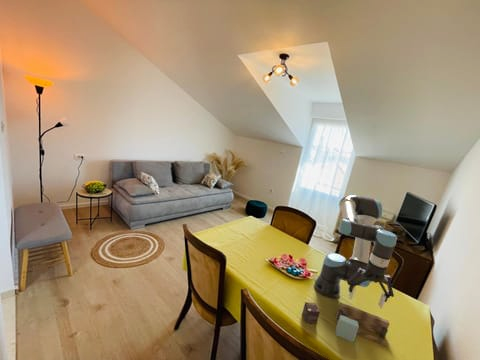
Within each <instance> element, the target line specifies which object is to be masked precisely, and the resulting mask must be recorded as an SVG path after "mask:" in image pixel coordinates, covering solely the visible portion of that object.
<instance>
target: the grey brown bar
mask: <svg viewBox="0 0 480 360" xmlns="http://www.w3.org/2000/svg"><path fill="white" fill-rule="evenodd" d="M340 315H342V316H345V317H347V318H350V319H353V320H355V321H358V326H359V327H360V328H363V329H365V330H368V331H369V332H370V331H371V332H373V333H376V334H378V335H380V336H379V337H380V338H381V339H380V338H379V337H375V336H374V335H371V334H369V333H367V332H364V331H361V330H359V329H358V331H357V334H356V335H359V336H361V337H363V338H366V339H369V340H371V341H373V342H376V343H378V344H380V345H382V346H385V347H388V346H389V342H388V341H385V340H384V339H386V336H387V333H388V331H389V330H388V329H389V326H390V324H391V323H390V320H388V319H386V318H383V317H380V316H378V315H375V314H372V313H369V312H367V311H366V310H365V311H364V310H362V309H359V308H356V307H355V306H351V305H348V304H346V303H343V302H341V301H340V302H339V305H338V308H337V311H336V315H335V317H336V321H337V322H336V324H337V323H338V320H339V317H340Z"/></svg>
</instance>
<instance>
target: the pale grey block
mask: <svg viewBox="0 0 480 360" xmlns="http://www.w3.org/2000/svg"><path fill="white" fill-rule="evenodd" d="M337 322H338V323H337ZM337 322H336V327H335V335H336V336H338V337H340V338H343V339H344V340H347V341H349V342H352V343H354V342H355V339H356V336H357V335H358V334H357V331H358V330H359V327H360V326H358V321H355V320H353V319H350V318H347V317H345V316H342V315H340V317H339V320H337Z"/></svg>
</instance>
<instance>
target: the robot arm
mask: <svg viewBox="0 0 480 360" xmlns="http://www.w3.org/2000/svg"><path fill="white" fill-rule="evenodd" d="M338 204H339V205H338V206H339V210H340V211H341V217H342V219H340V222H339V226H338V232H339V233H341V234H343V235H345V236H350V237H353V238H355V240H354V246H353V250H352V255H351V257H349V259H348V260H347V259H346V257H345V256H344V255H342V254H339V253H332V252H331V253H328V254H326V255H325V256H324V259H323V263H322V267H321V271H320V274H319V275H318V276H317V278H316V279H315V281H314V285H313V286H314V288H315V290H316V292H318V293H319V294H321V295H322V296H324V297H326V298H328V299H329V298H330V299H336V298H339V296H340V294H341V285H340V284H341V283H340V282H341V281H344V282H346V283H347V285H349V287H348V291H349V293H348V297H349V300H351V301H352V299H353V297H354V295H355V290H356V286H358V287H362V288H368V287H369V286H370V285H371V282H373V283H375V284H377V283H378V284H379V285H380V287H381V290H382V291H383V292H382V293H381V295H380V298H379V300H378V306H379V308H380V309H383V306H384V304H385V303H387V301H388V299H390V298H393V297H394V296H395V294H394V290H393V286H392V277H391V275H390V274H386V272H387V270H388V267H389V263H390V260H391V257H392V256H393V252H394V249H395V247H396V245H397V240H398V237H397V235H396V234H395V233H393V232H391V231H389V230H386V229H385V228H384V227H383V226H381V225H374V224H375V223H376V222H377V221H378V219H379V220H380V219H381V217H382V214H383V205H382V204H383V203H382V202H381V201H380V200H378V199H375V198H370V197H366V196H365V197H364V196H363V195H357V194H349V195H346V196H343V197H342V198H341V199H340V201H339V203H338ZM372 243H373V247H372V250H371V246H372ZM370 251H371V252H370ZM382 280H385V281H386V286H387V289H386V287H385V286H384V284H383V281H382ZM387 290H388V291H387Z"/></svg>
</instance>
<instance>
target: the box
mask: <svg viewBox="0 0 480 360" xmlns="http://www.w3.org/2000/svg"><path fill="white" fill-rule="evenodd" d="M320 313H321V311H320V309H319V307H318V304H317V302H307V301H304V305H303V310H302V316H303V319H304V321H305V323H306V324H315V325H316V324H317V323H318V320H319V316H320Z"/></svg>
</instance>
